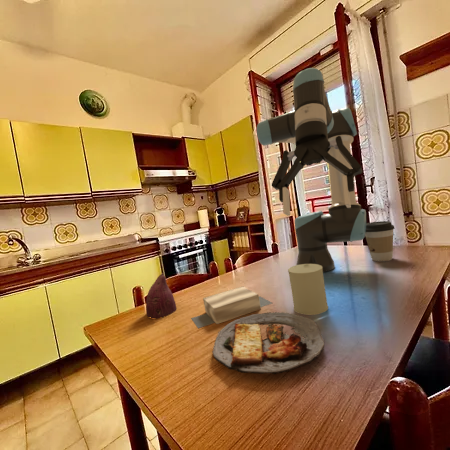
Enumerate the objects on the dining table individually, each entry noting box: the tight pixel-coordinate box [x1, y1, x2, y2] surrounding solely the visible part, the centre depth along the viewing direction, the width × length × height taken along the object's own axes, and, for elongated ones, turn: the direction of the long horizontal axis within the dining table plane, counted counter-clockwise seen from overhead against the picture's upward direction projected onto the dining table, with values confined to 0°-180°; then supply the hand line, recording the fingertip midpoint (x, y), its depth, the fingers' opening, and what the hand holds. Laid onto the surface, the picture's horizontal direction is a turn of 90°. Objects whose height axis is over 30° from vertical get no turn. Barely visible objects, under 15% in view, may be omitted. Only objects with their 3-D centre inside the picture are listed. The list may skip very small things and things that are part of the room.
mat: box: [190, 295, 273, 329], centre depth 78 cm, size 8×24×1 cm, turn 111°
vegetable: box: [145, 272, 178, 319], centre depth 87 cm, size 10×10×15 cm
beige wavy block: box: [202, 286, 262, 325], centre depth 78 cm, size 10×14×4 cm
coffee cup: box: [365, 220, 395, 262], centre depth 105 cm, size 11×11×15 cm
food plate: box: [212, 311, 325, 375], centre depth 58 cm, size 25×23×4 cm
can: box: [287, 264, 329, 316], centre depth 71 cm, size 9×9×12 cm
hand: (315, 210), depth 59 cm, fingers open, 13 cm apart
